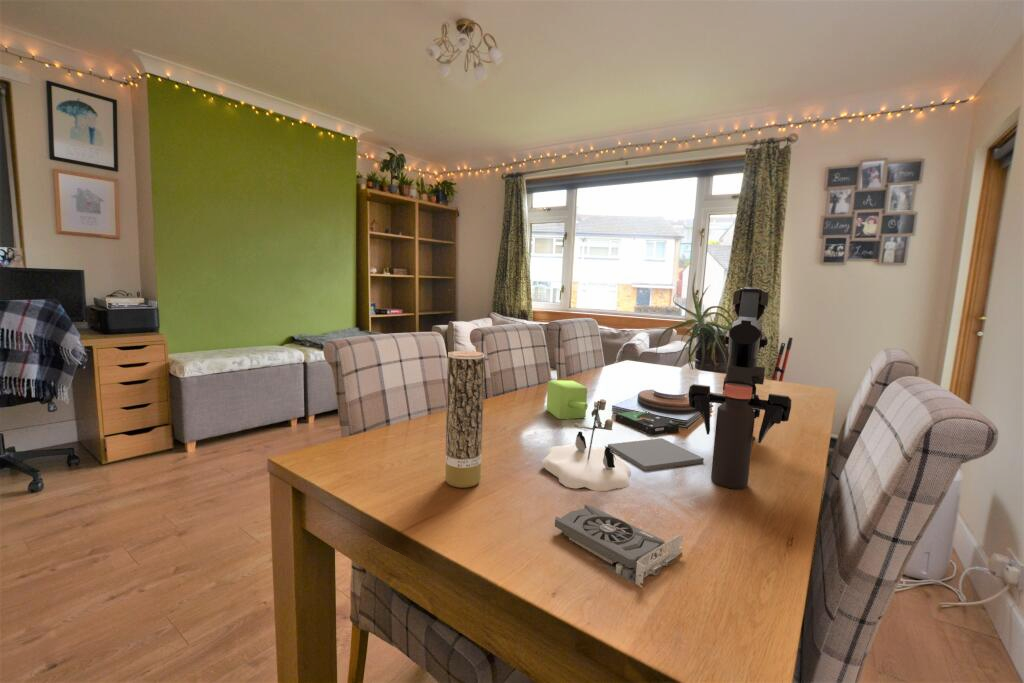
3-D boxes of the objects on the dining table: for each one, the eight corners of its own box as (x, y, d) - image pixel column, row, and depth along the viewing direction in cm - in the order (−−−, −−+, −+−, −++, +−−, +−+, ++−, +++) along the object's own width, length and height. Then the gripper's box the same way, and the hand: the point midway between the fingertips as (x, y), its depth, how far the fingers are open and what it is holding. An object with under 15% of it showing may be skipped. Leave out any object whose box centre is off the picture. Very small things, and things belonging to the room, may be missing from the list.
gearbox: (597, 423, 132) (599, 390, 131) (565, 424, 129) (567, 391, 128) (572, 406, 149) (574, 377, 148) (543, 407, 146) (544, 377, 145)
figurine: (530, 451, 105) (536, 382, 101) (604, 448, 109) (613, 382, 106) (560, 500, 86) (569, 417, 82) (648, 494, 91) (661, 415, 87)
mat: (661, 442, 117) (661, 438, 117) (703, 462, 104) (703, 458, 104) (607, 448, 111) (607, 444, 111) (644, 470, 98) (645, 466, 98)
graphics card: (690, 536, 67) (642, 564, 60) (688, 560, 68) (640, 592, 60) (597, 495, 80) (548, 514, 72) (596, 516, 80) (547, 537, 73)
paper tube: (485, 477, 92) (489, 352, 89) (471, 492, 85) (475, 357, 82) (454, 472, 94) (457, 349, 91) (438, 485, 88) (441, 354, 85)
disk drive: (679, 433, 127) (641, 417, 140) (680, 423, 127) (641, 408, 140) (651, 437, 122) (614, 421, 135) (651, 427, 122) (614, 411, 135)
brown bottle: (745, 493, 89) (756, 391, 87) (708, 483, 93) (717, 385, 90) (749, 481, 95) (759, 385, 93) (713, 472, 99) (722, 380, 96)
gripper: (693, 346, 99) (681, 408, 90) (796, 355, 90) (793, 425, 82) (695, 377, 107) (683, 436, 98) (789, 388, 98) (786, 454, 90)
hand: (733, 437), depth 92 cm, fingers open, 9 cm apart
